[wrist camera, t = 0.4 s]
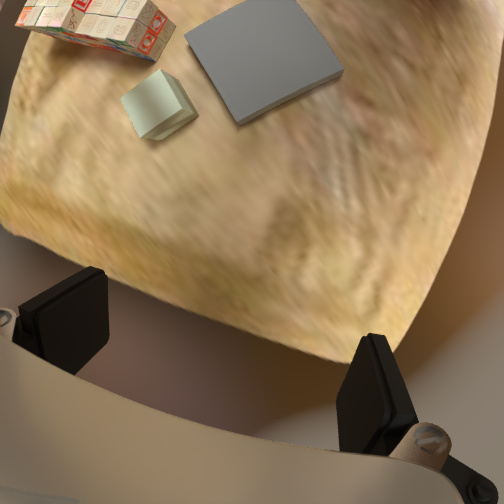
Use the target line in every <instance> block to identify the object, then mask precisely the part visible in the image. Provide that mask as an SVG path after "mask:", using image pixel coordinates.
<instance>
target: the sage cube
mask: <svg viewBox="0 0 504 504" xmlns="http://www.w3.org/2000/svg"><path fill="white" fill-rule="evenodd" d="M120 99H121V101H122V103H123V105H124V107H125V109H126V111H127V113H128V115H129V117H130V119H131V121H132V123H133V125H134V127H135V129H136V131H137V133H138V135H139V137H140V138H145V139H154V140H163V139H164V138H166V137H167V136H169V135H170V134H172V133H173V132H175V131H176V130H178V129H179V128H181V127H182V126H184V125H185V124H187V123H188V122H190V121H191V120H193V119H195V118H196V117H198V116H199V115H198V113H197V111H196V109H195V107H194V106H193V104H192V102H191V100H190V99H189V97H188V95H187V93H186V92H185V90H184V88H183V86H182V85H181V83H180V81H179V80H178V79H176V78H174V77H173V76H171V75H169V74H168V73H166V72H164V71H163V70H161V69H159V70H158V71H156V72H155V73H153V74H152V75H151V76H149V77H148V78H146V79H145V80H144V81H142V82H141V83H140V84H138V85H137V86H136V87H134V88H133V89H132V90H130V91H129V92H128V93H127V94H125V95H124V96H123V97H122V98H120Z"/></svg>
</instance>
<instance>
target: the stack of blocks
mask: <svg viewBox="0 0 504 504" xmlns="http://www.w3.org/2000/svg"><path fill="white" fill-rule="evenodd" d="M15 26H18V27H22V28H26V29H29V30H32V31H35V32H38V33H43V34H46V35H49V36H52V37H53V38H56V39H59V40H63V41H67V42H72V43H76V44H81V45H86V46H91V47H99V48H104V49H109V50H115V51H119V52H122V53H124V54H128V55H132V56H136V57H141V58H144V59H148V60H151V61H155V62H157V60H158V58H159V57H160V55H161V53H162V51H163V49H164V47H165V45H166V43H167V42H168V40H169V38H170V36H171V35H172V33H173V31H174V29H175V27H176V26H175V24H174V23H173V22H172V21H170V20H169V19H168V17H167V16H166V15H164V14H163V13H162V12H161V11H160V10H159V9H158V7H157V6H156V5H155V4H154V3H153V2H152V1H150V0H28V1H27V3H26V4H25V7H24V8H23V10H22V12H21V14H20V16H19V18H18V20H17V22H16V25H15Z"/></svg>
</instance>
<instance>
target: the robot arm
mask: <svg viewBox="0 0 504 504" xmlns="http://www.w3.org/2000/svg"><path fill="white" fill-rule="evenodd" d="M18 308H19V314H20V316H19V317H17V318H16V314H15V313H14V312H13V311H12V310H10V309H7V308H0V504H497V502H498V491H497V488H496V487H495V485H494V484H493V483H492V482H491V481H490V480H489V479H487V478H486V477H484V476H482V475H481V474H479V473H477V472H476V471H474V470H473V469H471V468H469V467H468V466H466V465H465V464H463V463H461V462H460V461H458V460H457V459H455V458H453V457H452V456H450V455H449V453H450V451H451V447H452V443H451V439H450V437H449V435H448V434H447V433H446V431H445V430H444V429H442V428H441V427H439V426H437V425H435V424H433V423H428V422H420V423H419V421H418V418H417V415H416V412H415V410H414V407H413V404H412V401H411V399H410V396H409V394H408V391H407V388H406V386H405V383H404V380H403V378H402V376H401V373H400V371H399V368H398V365H397V363H396V361H395V358H394V356H393V353H392V351H391V348H390V346H389V343H388V341H387V339H386V337H385V335H379V334H373V333H369V334H368V335H367V336H363V337H362V338H361V340H360V343H359V345H358V348H357V350H356V353H355V355H354V358H353V360H352V362H351V365H350V367H349V370H348V372H347V374H346V377H345V379H344V381H343V383H342V386H341V388H340V390H339V392H338V395H337V399H336V409H337V420H338V434H339V448H340V451H334V450H326V449H318V448H310V447H304V446H297V445H291V444H285V443H279V442H274V441H269V440H263V439H259V438H254V437H250V436H245V435H241V434H237V433H232V432H229V431H225V430H221V429H217V428H213V427H210V426H206V425H203V424H199V423H195V422H192V421H189V420H186V419H183V418H179V417H176V416H173V415H170V414H167V413H164V412H161V411H158V410H156V409H153V408H150V407H147V406H145V405H142V404H139V403H137V402H134V401H131V400H129V399H126V398H124V397H121V396H119V395H117V394H114V393H112V392H109V391H107V390H105V389H102V388H100V387H98V386H96V385H93V384H91V383H89V382H87V381H85V380H83V379H81V378H78V377H76V376H74V375H75V374H76V373H77V372H78V371H79V370H80V369H81V368H82V367H83V366H84V365H85V364H86V363H87V362H88V361H89V360H90V359H91V358H92V357H93V356H94V355H95V354H96V353H97V352H98V351H99V350H100V349H101V348H103V346H105V345H106V344H107V342H108V340H109V335H110V334H109V313H108V277H107V275H105V272H104V271H103V270H102V269H99V268H95V267H92V266H89V267H87V268H85V269H83V270H81V271H79V272H78V273H76V274H74V275H72V276H70V277H69V278H67V279H65V280H63V281H61V282H60V283H58V284H56V285H54V286H53V287H51V288H49V289H47V290H46V291H44V292H42V293H40V294H39V295H37V296H36V297H33V298H32V299H30V300H29V301H27V302H25V303H23V304H22V305H20V306H18Z"/></svg>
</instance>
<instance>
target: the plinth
mask: <svg viewBox="0 0 504 504" xmlns="http://www.w3.org/2000/svg"><path fill="white" fill-rule="evenodd" d="M184 37H185V38H186V40H187V41H188V43H189V45H190V46H191V48H192V49H193V51H194V53H195V54H196V56H197V57H198V59H199V61H200V62H201V64H202V65H203V67H204V69H205V70H206V72H207V74H208V75H209V77H210V79H211V80H212V82H213V83H214V85H215V87H216V88H217V90H218V92H219V94H220V95H221V97H222V99H223V100H224V102H225V104H226V105H227V107H228V109H229V110H230V112H231V114H232V116H233V117H234V119H235V121H236V122H237V123H238V124H240V125H243V124H245V123H247V122H248V121H250V120H252V119H254V118H256V117H258V116H259V115H261V114H263V113H265V112H267V111H269V110H271V109H273V108H275V107H277V106H278V105H280V104H282V103H284V102H286V101H288V100H290V99H292V98H294V97H296V96H298V95H300V94H303V93H305V92H307V91H309V90H311V89H313V88H315V87H317V86H319V85H322V84H324V83H326V82H328V81H330V80H333V79H335V78H337V77H340V76H342V73H343V71H344V67H343V65H342V64H341V62H340V61H339V59H338V58H337V56H336V55H335V53H334V52H333V50H332V49H331V47H330V46H329V44H328V43H327V42H326V40H325V39H324V37H323V36H322V34H321V33H320V32H319V30H318V29H317V28H316V26H315V25H314V24H313V22H312V21H311V20H310V18H309V17H308V16H307V14H306V13H305V12H304V10H303V9H302V8H301V7H300V5H299V4H298V3H297V2H296V0H246V1H244V2H242V3H240V4H238V5H236V6H234V7H232V8H230V9H228V10H226V11H224V12H223V13H221V14H219V15H217V16H215V17H213V18H212V19H210V20H208V21H206V22H205V23H203V24H201V25H199V26H198V27H196V28H194V29H193V30H191V31H189V32H188V33H186V34H184Z"/></svg>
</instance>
